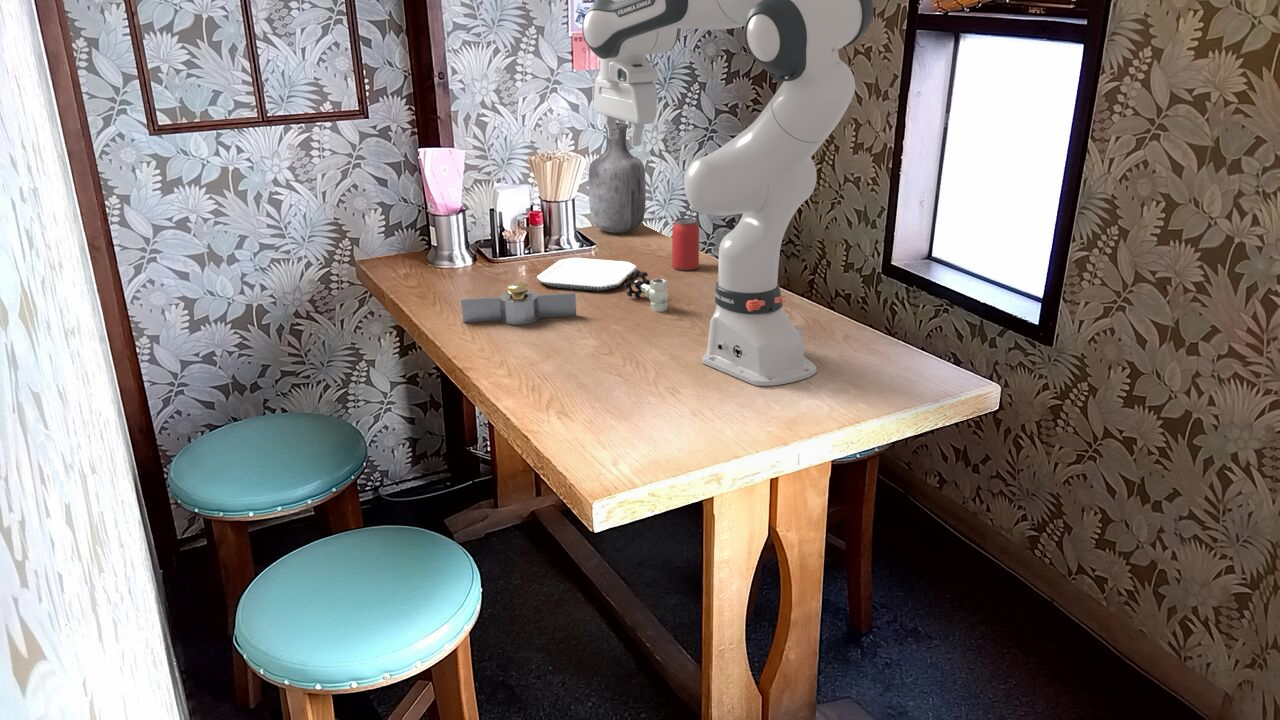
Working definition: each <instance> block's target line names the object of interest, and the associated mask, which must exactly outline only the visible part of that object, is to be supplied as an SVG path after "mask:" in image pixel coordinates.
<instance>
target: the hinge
mask: <svg viewBox="0 0 1280 720" xmlns="http://www.w3.org/2000/svg"><path fill="white" fill-rule="evenodd" d="M576 298H577V297H576V292H562V293H543V294H542V293H541V294H538V293H536V292H534V291H533V290H528V292H526V293H524V299H512V294H509V293H508V292H504V293H502V294H500V295H499V296H487V297H486V296H484V297H482V296H481V297H470V298H469V297H466V298H465V297H464V298H461V299H460V300H461V302H460V303H461V312H462V323H477V322H479V323H480V322H495V321H496V322H497V321H501V322H502V323H504V324H506V325H512V326H524V325H526V326H527V325H529V324H533V323H535V322H537V321H538V320H540V319H547V318H549V319H550V318H568V317H569V318H570V317H577V301H576V300H577V299H576Z"/></svg>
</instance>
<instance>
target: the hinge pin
mask: <svg viewBox="0 0 1280 720" xmlns="http://www.w3.org/2000/svg"><path fill="white" fill-rule="evenodd" d="M528 285H529V284H528V283H525V282H512V283H509V284H507V285H506V291H507V292H508V293H509V294H512V299H524V293H526V292H528V291H529V286H528Z"/></svg>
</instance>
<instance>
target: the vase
mask: <svg viewBox="0 0 1280 720" xmlns="http://www.w3.org/2000/svg"><path fill="white" fill-rule="evenodd" d="M616 126H617V129H618V130H619V138H618V139H610V138H608V129H607V127H606V124H605V123H603V128H604V129H605V134H606V137H605V138H606V147H605V149H604V151H603V153H602V154H601V155H600V156H598V157H597V158H594V160H592V161H591V163H590V165H589V168H588V201H589V203H588V204H589V210H590V211H589V212H590V217H591V220H592V223H593V224H594V226H596V227H597V228H598V229H600V230H602V231H605V232H608V233H614V234H615V233H616V234H618V233H620V234H621V233H627V232H631V231H633V230H635V229H636V228H638V227H639V226H640V225H641V224H642V223H643V221H644V218H645V215H646V214H645V213H646V212H645V211H646V201H647V200H646V199H647V198H646V196H647V194H646V193H647V189H646V187H647V185H646V181H647V180H646V179H647V178H646V171H645V165H644V163H643V161H642V160H641V159H640V158H639V157H637V156H634V155H632V153H631V152H630V151H629V149H628V146H627V130H628V129H629V123H628V122H622V121H621V122H620V121H619V122H618V121H616Z"/></svg>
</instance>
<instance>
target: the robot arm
mask: <svg viewBox="0 0 1280 720" xmlns="http://www.w3.org/2000/svg"><path fill="white" fill-rule="evenodd" d="M873 18H874V4H873V0H595V1H594V2H593V3H592V4H591V5H590V7H588V9H587V11H586V13H585V15H584V17H583V20H582V27H581V28H582V29H581V30H582V37H583V39H584V42H585V43H586V46H588V48H589V49H590V51H592V53H594V55H595V56H597V57H598V58H599V65H600V66H599V67H600V68H599V71H598V73H597V74H598V75H597V77H596V78H595V81H594V91H593V92H594V95H593V107H594V111H595V113H596V114H599V115H603V116H604V124H606V127H607V129H608V138H610V139H618V138H619V130H618V129H617V126H616V122H617V119H618V120H620V121H621V120H622V121H624V122H627V123H628V122H629V123H631V125H630V128H631V129H632V130H631V135H629V145H630V146H633V147H638V146H641V143H642V135H643V132H644V129H645V125H649V124H650V125H651V124H653V123H654V122H655V120H656V118H657V107H658V105H657V104H658V92H657V91H658V90H657V87H656V84H655V83H656V82H658V80H659V72H658V70H657V69H656V68H655V67H654V66H652V65H651V63H650V62H649V61H648V60H647V59H646V58H647V55H658V54H663V53H666V52H669V51H672V49H674V47H675V46H676V44H677V42H678V40H679V37H680V33H681V29H691V30H692V29H696V30H730V29H736V28H740V27H744V41H745V43H746V47H747V49H748V51H749V53H750V55H751V56H752V57H753V59H754V60H755V61H756V63H758V65H759V66H760V67H761V68H762V69H763V70H765V71H767V73H768V74H769V76H770V77H772V78H773V79H775V80H777V81H779V82H782V83H781V85H780V86H779V88H778V90H777V91H776V92H775V93H774V95H773V96H772V98H771V99H770V100H769V102H768V103H767V105H766V106H765V108H764V109H763V110H762V111H761V113H760V114H759V115H758V116H757V118H756V119H755V120H753V122H752V123H751V124H750V125H749V126H747V128H745V129H744V130H742V132H739V134H737V135H736V136H735V137H733V138H732V139H730V140H729V141H728V142H726V143H725V144H724V145H722V146H721V147H719V148H718V149H716V150H714V151H712V152H711V153H708V154H707V155H705V156H702V157H700V158H697V159H696V160H693V161H692V163H691V164H690V165H689V167H688V168H687V171H686V172H685V173H686V174H685V176H684V181H683V187H684V193H685V198H686V200H687V202H688V203H689V205H690V207H691V208H692V209H693V210H694V211H695V212H696V213H698V214H701V215H709V216H719V217H720V216H721V217H727V216H733V215H734V216H735V215H740V214H742V216H741V218H740V219H739V221H738V223H737V225H736V226H734V228H733V229H732V230H730V231H729V232H728V233H727V234H725V236H723V238H722V240H721V241H720V243H719V247H718V263H717V265H718V266H717V267H718V268H717V269H718V270H717V271H718V273H717V282H716V283H715V289H714V302H715V304H716V308H715V310H714V312H713V315H712V317H711V318H710V322H709V323H710V324H709V329H708V340H707V348H706V349H707V350H706V353H705V354H704V355H703V356H702V358H701V362H702V364H704V365H707V366H709V367H710V368H713V369H716V370H717V371H720V372H723V373H725V374H728V375H730V376H732V377H735V378H737V379H739V380H741V381H744V382H747V383H749V384H751V385H753V386H757V387H758V386H759V387H763V386H765V387H768V386H769V387H770V386H780V385H784V384H790V383H794V382H797V381H801V380H805V379H807V378H810V377H812V376H814V375H815V374H816V373H817V372H818V369H817V365H815V364H814V363H813V362H812V361H810V360H809V359H808V358H807V357H806V356H805V344H804V339H803V333H802V330H801V329H800V328H798V327H797V328H796V327H795V325H794V323H793V322H792V321H791V319H790V318H789V317H788V315H787V313H786V312H785V309H784V308H783V306H784V302H786V300H783V299H785V298H786V297H787V296H786V295H782V291H781V288H780V284H779V283H778V279H779V278H778V277H779V265H780V262H779V261H780V253H781V248H782V247H781V246H782V242H783V240H784V235H785V232H786V231H787V230H788V229H787V228H788V227H789V224H790V222H791V220H792V219H793V217H794V215H795V213H796V212H797V211H798V210H799V208H800V207H801V205H803V203H804V202H806V201H807V200H808V199H809V198H810V197H811V195H812V194H813V192H814V190H815V187H816V184H817V179H818V178H817V176H818V175H817V168H816V165H815V163H814V160H813V158H812V157H813V156H814V154H815V153H816V152H817V151H818V149H819V148H820V147H821V146H822V145H823V144H824V142H825V141H826V140H827V139H828V138H829V136H830V135H831V134H832V132H833V131H834V130H835V128H836V127H837V126H838V124H839V123H840V122H841V120H842V118H843V117H844V115H845V113H846V112H847V109H848V107H849V105H850V103H851V102H852V99H853V98H854V95H855V91H856V90H855V89H856V81H855V77H854V74H853V72H852V70H851V69H850V68H849V66H848V65H847V64H846V63H845V62H844V61H843V60H841V58H840V55H839V50H840V49H842V48H845V47H848V46H850V45H853V44H854V43H855V42H856V41H858V40H859V39H860V38H861V37H863V35H864V34H865V33H866V32H867V31H868V30H869V28H870V26H871V24H872V22H873Z"/></svg>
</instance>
